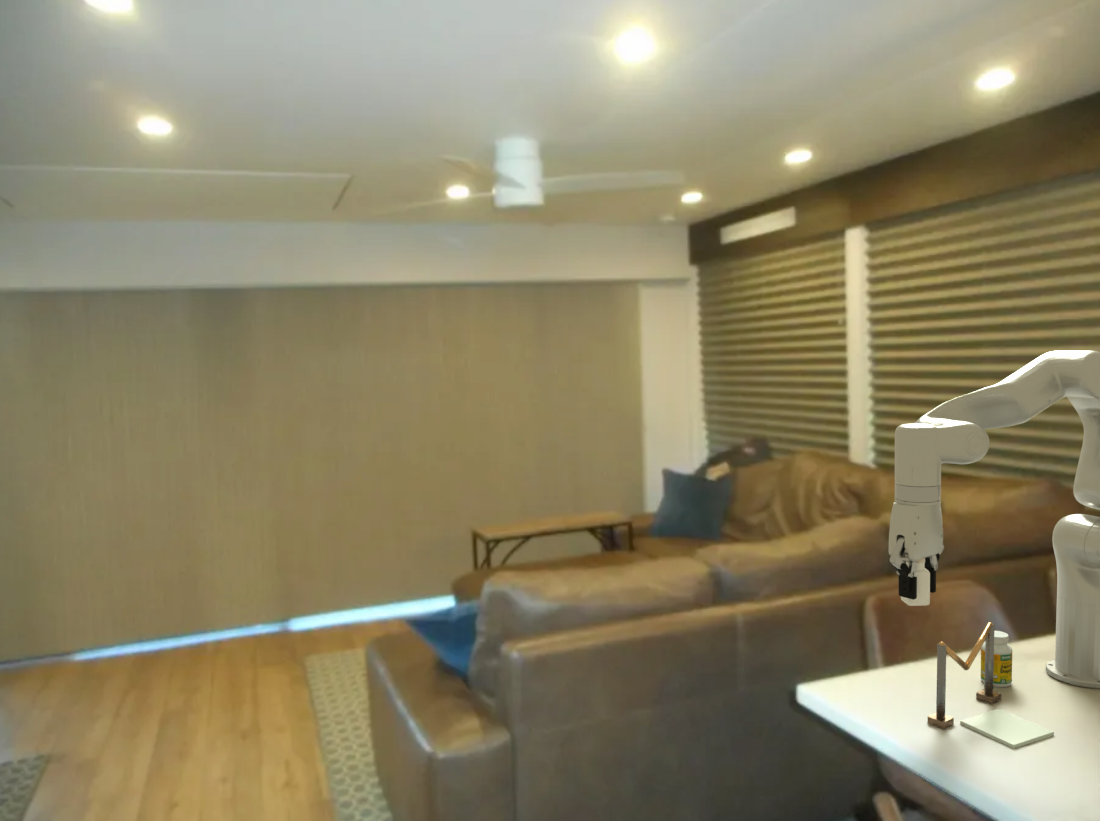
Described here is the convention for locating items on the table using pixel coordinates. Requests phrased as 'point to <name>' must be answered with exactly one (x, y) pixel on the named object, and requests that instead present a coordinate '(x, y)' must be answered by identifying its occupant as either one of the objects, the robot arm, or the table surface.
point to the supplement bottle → (999, 660)
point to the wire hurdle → (984, 695)
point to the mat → (1007, 728)
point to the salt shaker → (920, 585)
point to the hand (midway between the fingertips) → (917, 593)
